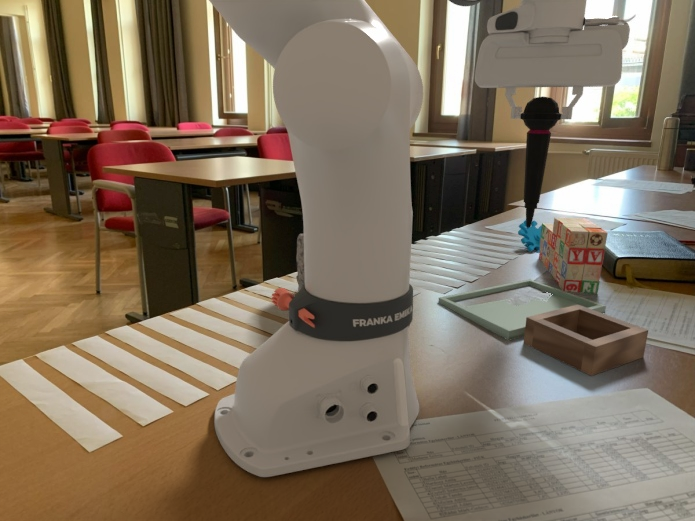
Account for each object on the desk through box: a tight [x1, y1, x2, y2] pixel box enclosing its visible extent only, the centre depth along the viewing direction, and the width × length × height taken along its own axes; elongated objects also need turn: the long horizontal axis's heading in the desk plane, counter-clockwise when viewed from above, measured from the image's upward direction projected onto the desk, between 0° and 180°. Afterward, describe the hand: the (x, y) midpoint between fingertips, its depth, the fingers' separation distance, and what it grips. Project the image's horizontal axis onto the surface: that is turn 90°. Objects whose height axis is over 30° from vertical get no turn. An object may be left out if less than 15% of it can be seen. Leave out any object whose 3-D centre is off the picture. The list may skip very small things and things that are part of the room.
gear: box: [517, 219, 542, 254], centre depth 123 cm, size 11×6×10 cm
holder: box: [523, 304, 649, 377], centre depth 72 cm, size 11×11×4 cm
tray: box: [437, 278, 607, 341], centre depth 86 cm, size 22×16×2 cm
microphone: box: [520, 96, 562, 227], centre depth 80 cm, size 6×6×20 cm
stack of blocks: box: [538, 217, 608, 294], centre depth 103 cm, size 21×6×12 cm, turn 172°
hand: (540, 119), depth 78 cm, fingers closed on microphone, 6 cm apart
